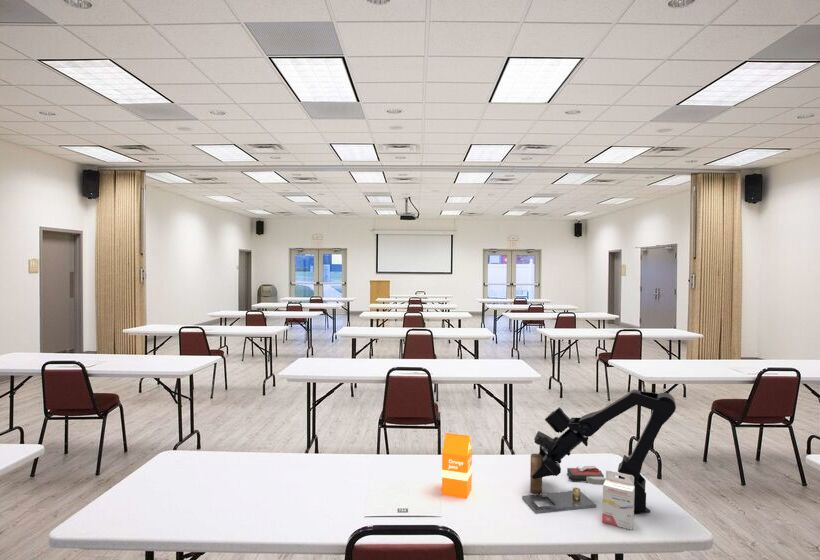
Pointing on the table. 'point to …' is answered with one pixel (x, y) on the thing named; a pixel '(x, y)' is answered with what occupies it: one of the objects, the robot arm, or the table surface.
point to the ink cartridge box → (618, 500)
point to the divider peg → (535, 464)
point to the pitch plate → (560, 501)
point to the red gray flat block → (586, 474)
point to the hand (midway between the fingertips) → (532, 472)
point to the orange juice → (457, 466)
